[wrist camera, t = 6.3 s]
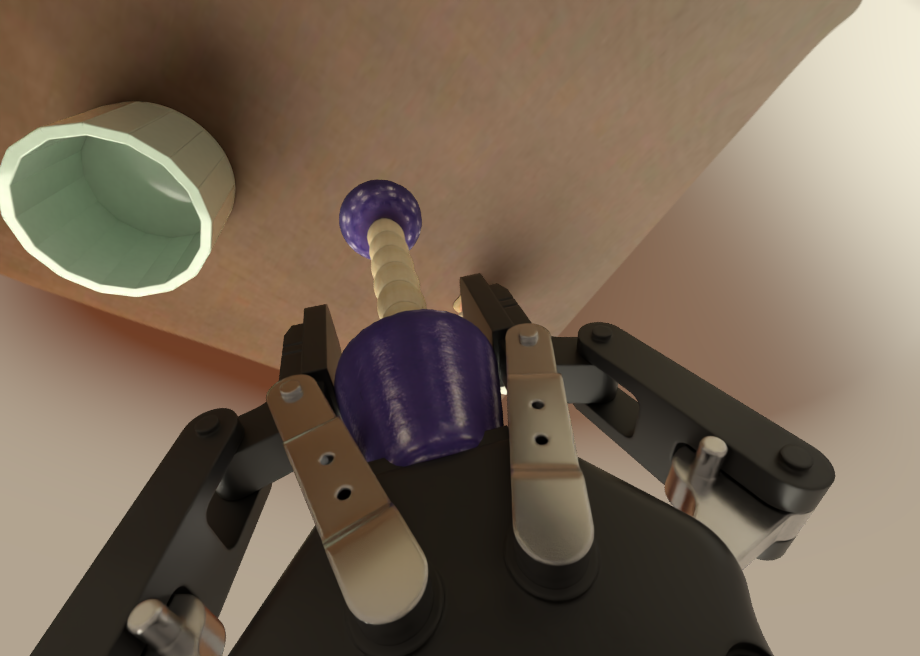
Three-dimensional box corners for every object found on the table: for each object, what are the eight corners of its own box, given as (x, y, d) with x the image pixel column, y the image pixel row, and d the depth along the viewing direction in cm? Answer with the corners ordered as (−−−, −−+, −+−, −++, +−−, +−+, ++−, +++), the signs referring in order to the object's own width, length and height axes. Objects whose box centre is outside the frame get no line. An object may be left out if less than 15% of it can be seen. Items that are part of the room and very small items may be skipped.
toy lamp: (371, 278, 24) (435, 572, 11) (306, 218, 22) (288, 514, 9) (436, 221, 24) (588, 467, 10) (376, 153, 21) (479, 366, 8)
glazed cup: (43, 110, 28) (-55, 137, 20) (204, 92, 29) (166, 112, 22) (122, 249, 33) (67, 310, 26) (254, 228, 35) (236, 279, 28)
